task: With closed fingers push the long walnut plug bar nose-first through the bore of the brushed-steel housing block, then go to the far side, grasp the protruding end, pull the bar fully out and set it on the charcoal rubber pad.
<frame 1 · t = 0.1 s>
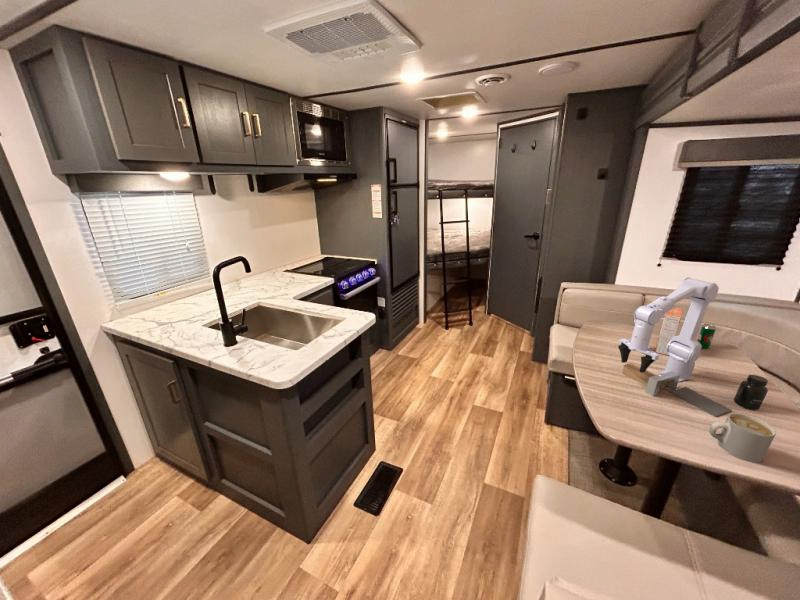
hand: (632, 366, 125), 10 cm above the table, fingers open, 7 cm apart
supplement bottle: (745, 405, 117), on the table
pad: (699, 401, 119), on the table
housing: (660, 390, 126), on the table
plug bar: (641, 381, 133), on the table
soda can: (701, 347, 159), on the table
sprinkles bottle: (637, 349, 158), on the table
coffee mug: (731, 447, 99), on the table
cracker box: (662, 349, 158), on the table
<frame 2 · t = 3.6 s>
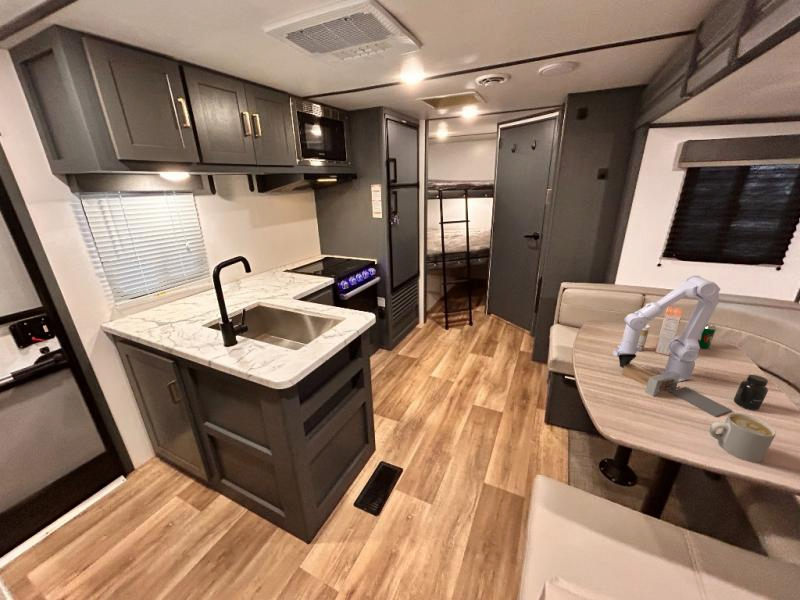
hand: (623, 367, 140), 1 cm above the table, fingers closed
plug bar: (642, 381, 132), on the table, touching gripper
everything else where it was.
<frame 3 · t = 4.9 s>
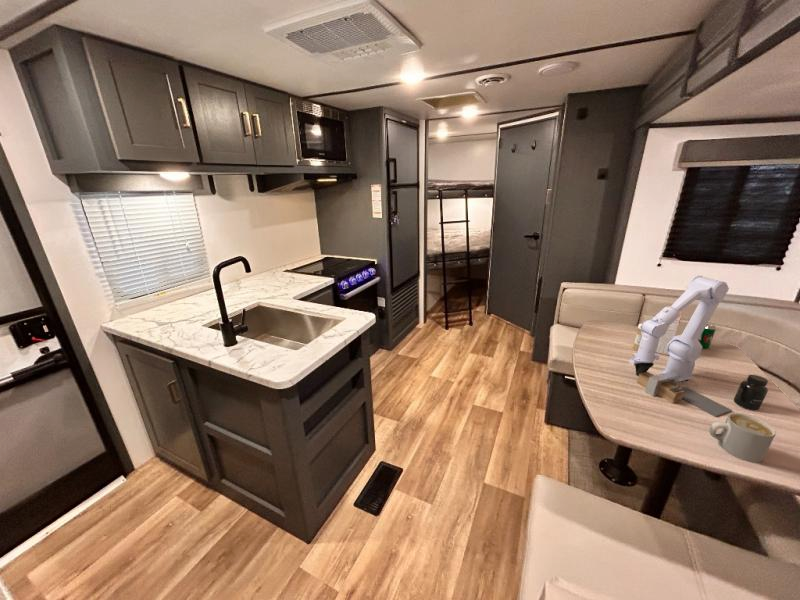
hand: (639, 376, 133), 1 cm above the table, fingers closed
plug bar: (657, 391, 126), on the table, touching gripper
everything else where it was.
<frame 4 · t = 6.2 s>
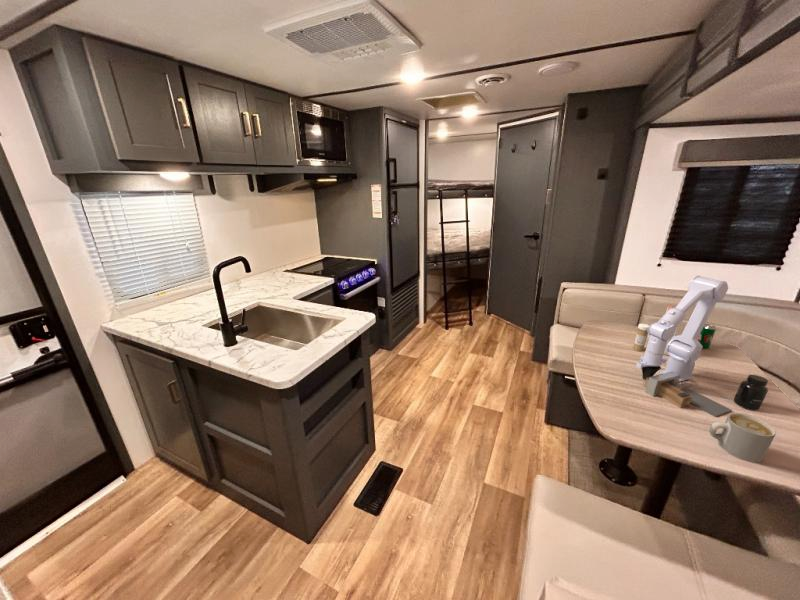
hand: (646, 379, 131), 1 cm above the table, fingers closed
plug bar: (665, 396, 123), on the table
everything else where it was.
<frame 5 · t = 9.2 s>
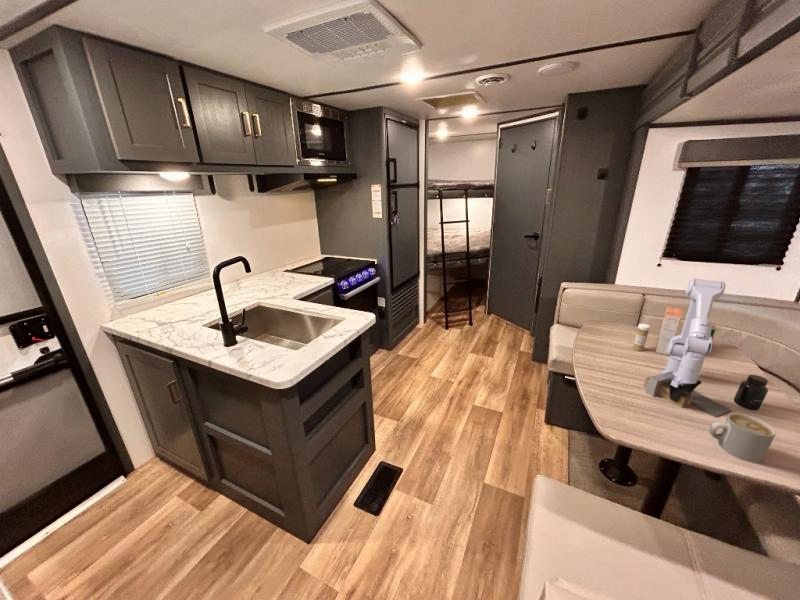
hand: (679, 397, 120), 1 cm above the table, fingers open, 7 cm apart
nothing on the table moved.
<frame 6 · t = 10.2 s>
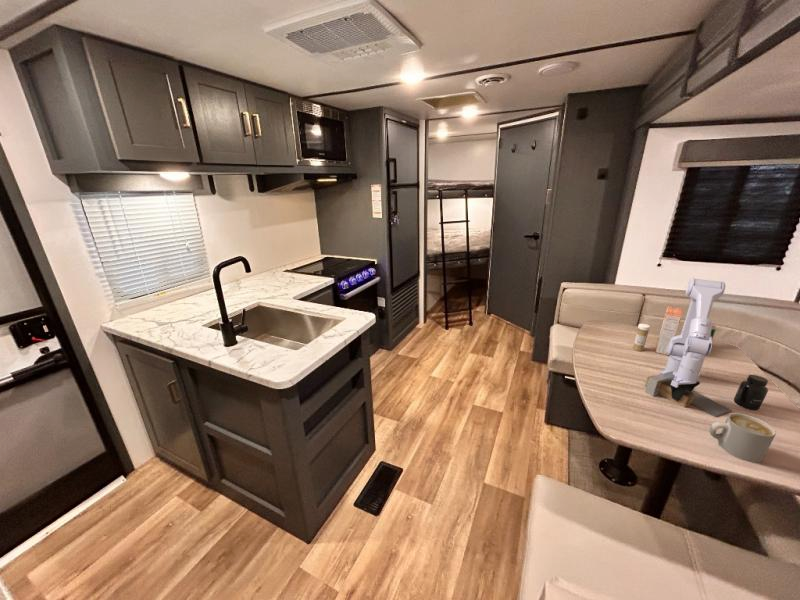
hand: (679, 397, 120), 1 cm above the table, fingers closed on plug bar, 5 cm apart
plug bar: (667, 395, 123), on the table, touching gripper
everything else where it was.
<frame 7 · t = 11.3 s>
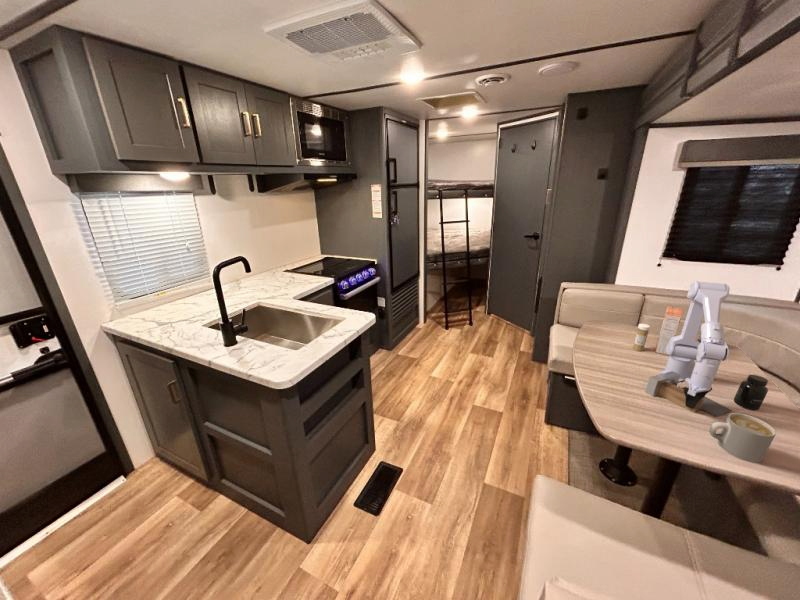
hand: (692, 404, 116), 1 cm above the table, fingers closed on plug bar, 5 cm apart
plug bar: (674, 399, 121), on the table, touching gripper
everything else where it was.
when the fingers open (2 cm above the table, at t = 15.1 s): plug bar stays where it is, resting on pad.
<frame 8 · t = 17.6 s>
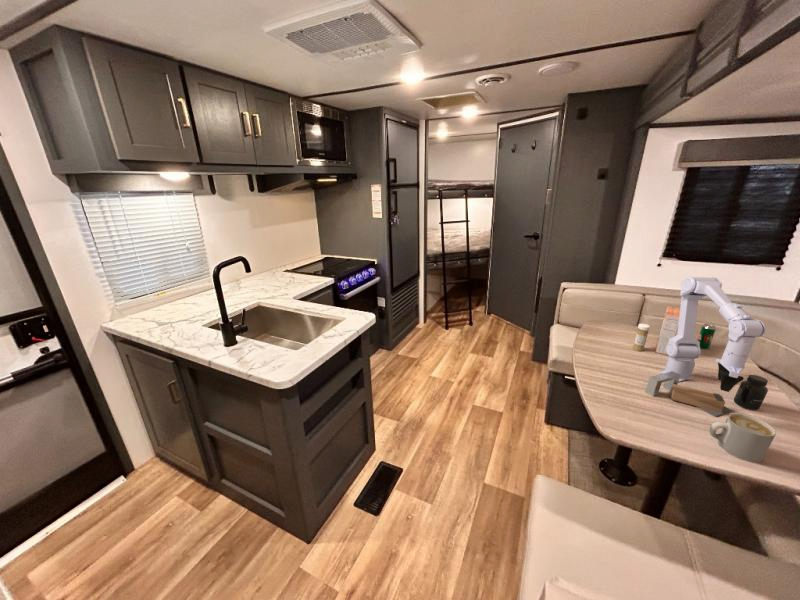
hand: (723, 385, 112), 10 cm above the table, fingers open, 7 cm apart
plug bar: (694, 402, 118), point 1 cm above the table, touching pad
everything else where it was.
at the end: plug bar inside the target area on the pad (3.6 cm from its centre), point 0.6 cm above the pad's base; plug bar touching pad; the gripper is holding nothing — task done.
